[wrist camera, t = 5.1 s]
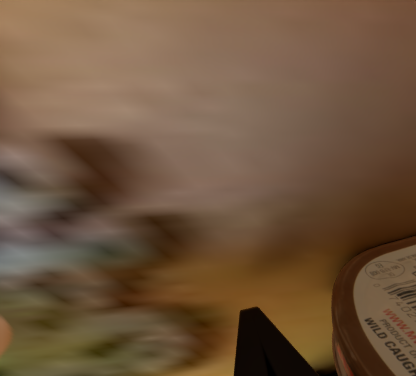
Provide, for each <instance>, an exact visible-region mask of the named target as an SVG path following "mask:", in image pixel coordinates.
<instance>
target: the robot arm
mask: <svg viewBox="0 0 416 376" xmlns="http://www.w3.org/2000/svg"><path fill="white" fill-rule="evenodd" d="M234 376H319V375H318V374H317V373H316V372H315V370H314V369H313V368H312V367H311V366H310V365H309V364H308V363H307V361H306V360H305V359H304V358H303V357H302V356H301V355H300V354H299V352H298V351H297V350H296V349H295V348H294V347H293V346H292V345H291V343H290V342H289V341H288V340H287V339H286V338H285V337H284V335H283V334H282V333H281V332H280V331H279V330H278V329H277V328H276V326H275V325H274V324H273V323H272V322H271V321H270V320H269V319H268V317H267V316H266V315H265V314H264V313H263V312H262V311H261V310H260V308H258V307H252V308H248V309H244V310H241V311H240V315H239V326H238V336H237V347H236V357H235V368H234ZM333 376H338V374H337V375H333Z"/></svg>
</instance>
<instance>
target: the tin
mask: <svg viewBox="0 0 416 376" xmlns="http://www.w3.org/2000/svg"><path fill="white" fill-rule="evenodd" d="M331 309H332V324H333V334H332V349H333V356H334V361H335V366H336V370H337V373H338V376H416V236H414V237H410V238H406V239H402V240H399V241H395V242H391V243H388V244H384V245H380V246H377V247H375V248H372V249H369V250H367V251H364V252H362V253H361V254H359V255H357V256H356V257H354V258H353V259H352V260H350V261H349V262H348V263H347V264H346V265H345V266H344V267H343V268H342V270H341V271H340V273H339V275H338V276H337V279H336V281H335V284H334V288H333V293H332V307H331Z"/></svg>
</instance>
